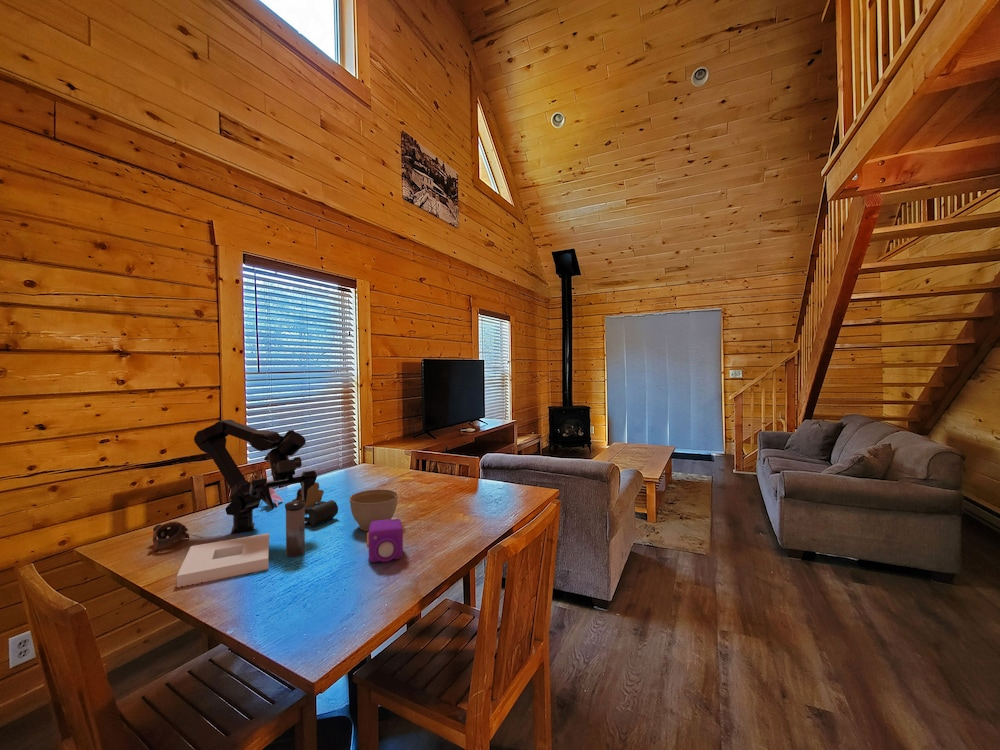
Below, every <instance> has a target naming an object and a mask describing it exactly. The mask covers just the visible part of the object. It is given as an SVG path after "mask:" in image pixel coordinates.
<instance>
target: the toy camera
mask: <svg viewBox="0 0 1000 750" xmlns="http://www.w3.org/2000/svg"><path fill="white" fill-rule="evenodd" d="M403 531H404V529H403V524H402V521H401V519H399V518H397V517H395V516H393V517H392V518H391V519H387V520H377V521H373V522H371V523H370V525H369V531H368V532H366V548H368V559H369V561H370V562H371V563H379V562H380V561H381V562H383V563H384V562H385V563H386V562H390V561H393V560H392V559H396V560H398V559H397V558H399V559H401V558H402V557H403V553H404V552H403V551H404V538H403V537H404V532H403ZM400 557H401V558H400Z"/></svg>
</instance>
